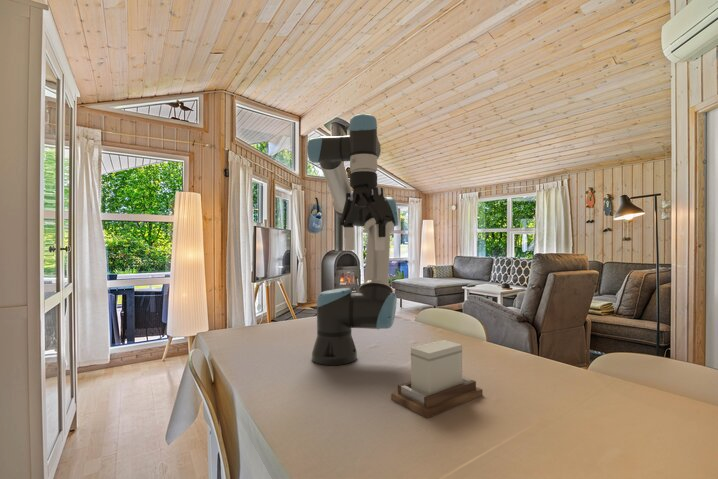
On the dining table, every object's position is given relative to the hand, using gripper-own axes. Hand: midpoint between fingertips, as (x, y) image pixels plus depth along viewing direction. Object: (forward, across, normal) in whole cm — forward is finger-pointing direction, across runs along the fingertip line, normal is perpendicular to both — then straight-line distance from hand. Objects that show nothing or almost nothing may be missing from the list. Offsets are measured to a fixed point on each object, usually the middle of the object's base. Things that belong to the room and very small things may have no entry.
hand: (363, 250), depth 97 cm
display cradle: (+37, +17, +10) cm, 42 cm away
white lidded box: (+35, +17, +10) cm, 40 cm away
